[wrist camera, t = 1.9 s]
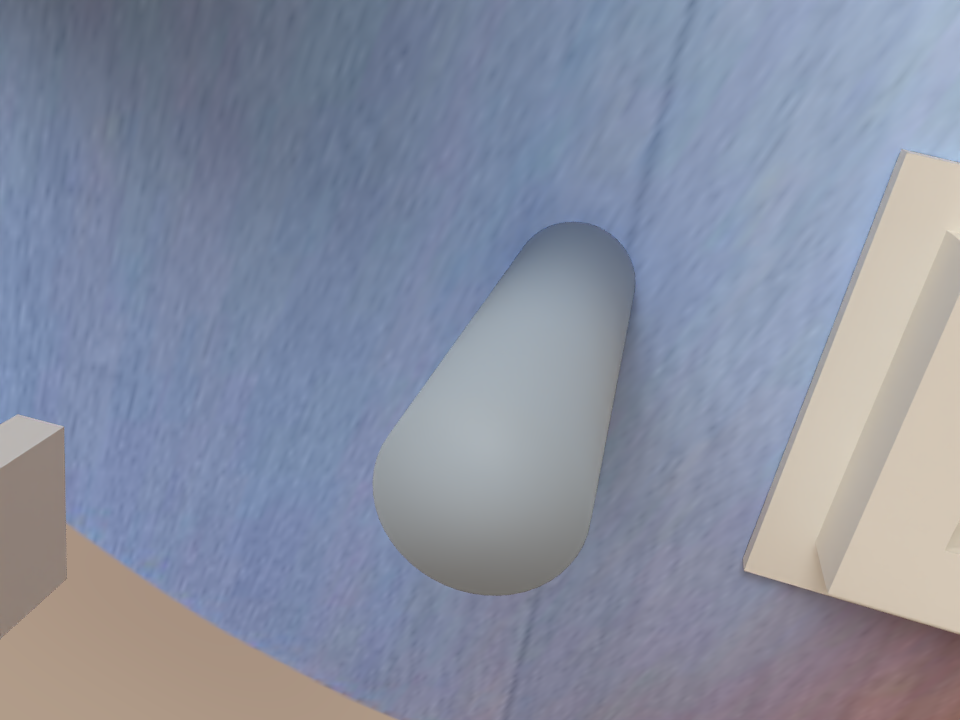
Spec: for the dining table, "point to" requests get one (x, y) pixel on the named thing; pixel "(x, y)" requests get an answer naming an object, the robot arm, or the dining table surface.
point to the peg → (513, 422)
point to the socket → (882, 422)
